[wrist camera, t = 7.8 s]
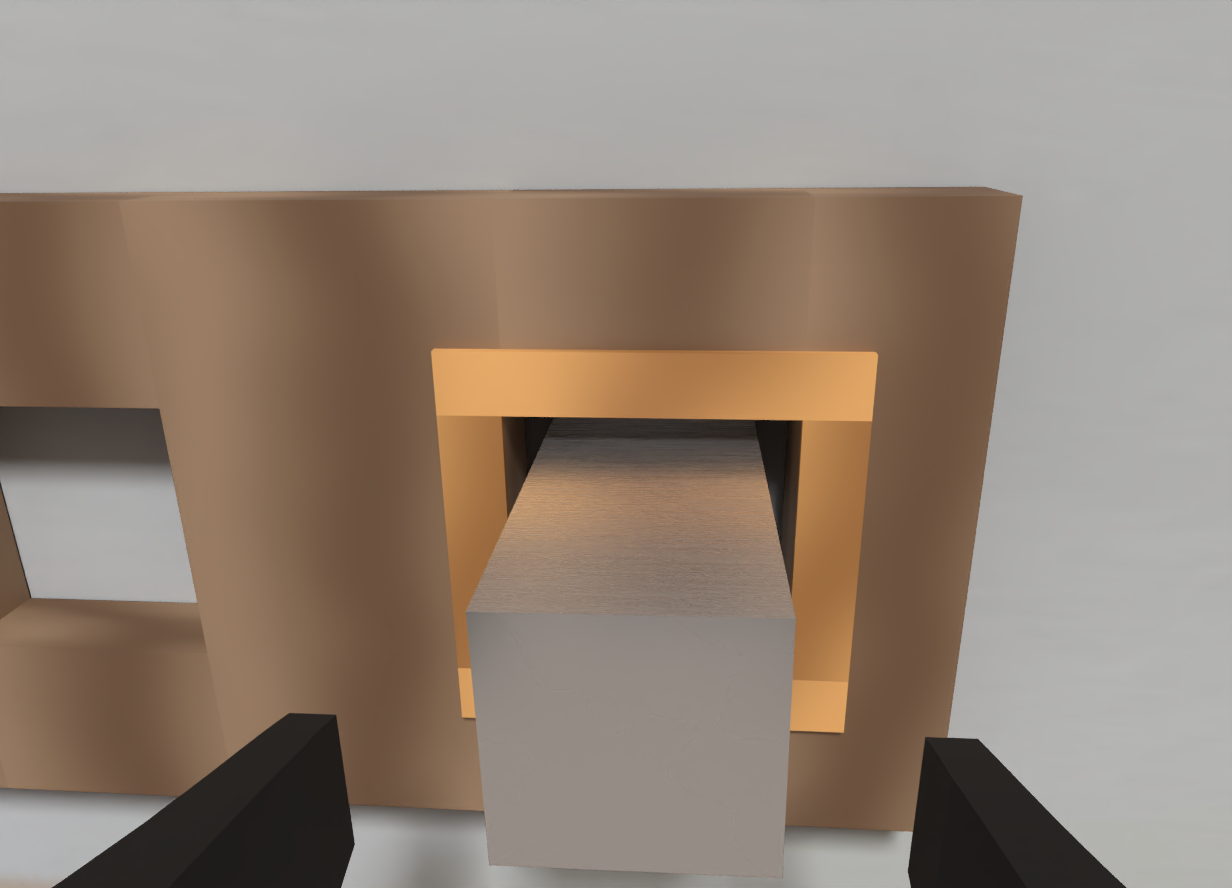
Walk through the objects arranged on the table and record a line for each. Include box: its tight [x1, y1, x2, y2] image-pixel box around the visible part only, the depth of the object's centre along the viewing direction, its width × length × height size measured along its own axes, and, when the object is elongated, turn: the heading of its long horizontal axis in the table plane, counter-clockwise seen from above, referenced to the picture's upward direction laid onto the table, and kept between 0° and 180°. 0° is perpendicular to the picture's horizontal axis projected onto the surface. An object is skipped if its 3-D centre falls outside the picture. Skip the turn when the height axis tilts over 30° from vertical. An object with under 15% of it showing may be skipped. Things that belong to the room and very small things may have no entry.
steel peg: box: [466, 417, 796, 878], centre depth 15 cm, size 4×4×8 cm
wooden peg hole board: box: [0, 187, 1023, 832], centre depth 18 cm, size 24×13×2 cm, turn 90°
